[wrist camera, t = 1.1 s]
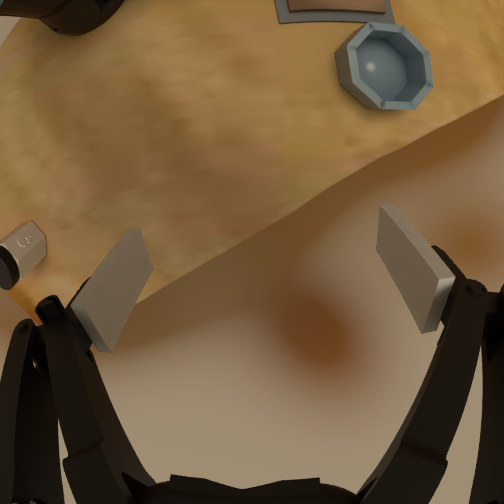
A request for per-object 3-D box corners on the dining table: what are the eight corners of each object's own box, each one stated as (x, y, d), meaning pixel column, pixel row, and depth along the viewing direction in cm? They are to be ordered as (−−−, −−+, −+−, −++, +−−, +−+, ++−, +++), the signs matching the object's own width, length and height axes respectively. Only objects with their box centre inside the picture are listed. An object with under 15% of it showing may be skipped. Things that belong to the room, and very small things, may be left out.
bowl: (330, 31, 28) (341, 20, 23) (404, 36, 27) (425, 29, 21) (342, 107, 33) (355, 109, 28) (414, 107, 32) (435, 111, 27)
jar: (53, 243, 46) (17, 278, 36) (41, 264, 49) (9, 299, 38) (26, 211, 43) (-14, 241, 32) (15, 236, 46) (-19, 266, 35)
